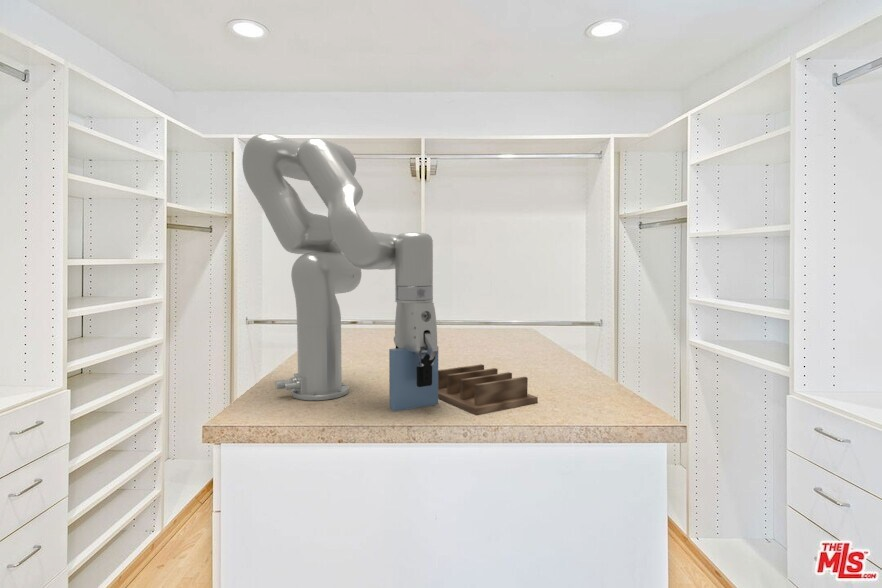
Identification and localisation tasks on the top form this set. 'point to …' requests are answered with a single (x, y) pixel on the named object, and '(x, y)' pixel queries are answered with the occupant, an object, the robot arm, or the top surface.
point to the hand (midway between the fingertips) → (414, 381)
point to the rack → (482, 389)
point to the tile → (409, 381)
